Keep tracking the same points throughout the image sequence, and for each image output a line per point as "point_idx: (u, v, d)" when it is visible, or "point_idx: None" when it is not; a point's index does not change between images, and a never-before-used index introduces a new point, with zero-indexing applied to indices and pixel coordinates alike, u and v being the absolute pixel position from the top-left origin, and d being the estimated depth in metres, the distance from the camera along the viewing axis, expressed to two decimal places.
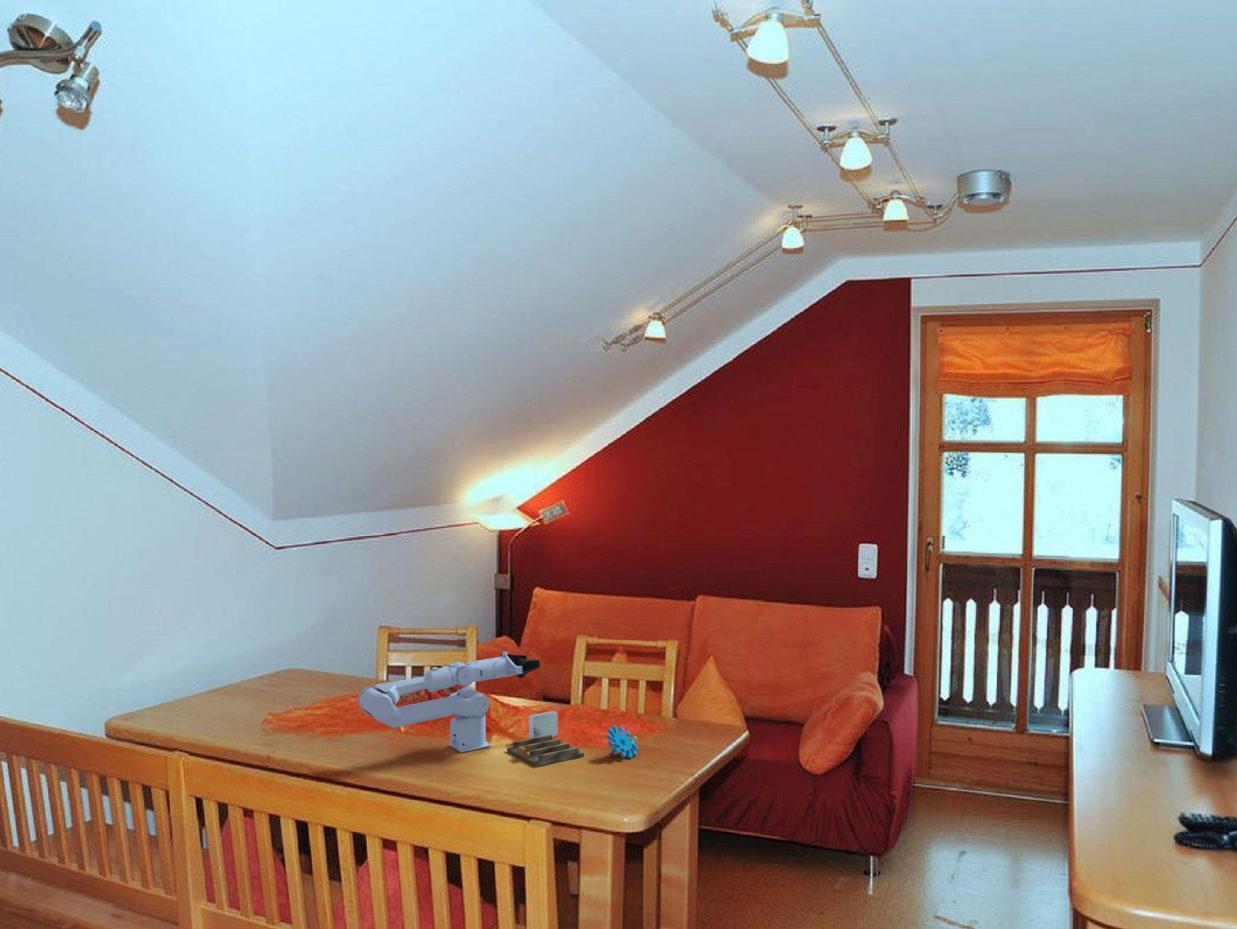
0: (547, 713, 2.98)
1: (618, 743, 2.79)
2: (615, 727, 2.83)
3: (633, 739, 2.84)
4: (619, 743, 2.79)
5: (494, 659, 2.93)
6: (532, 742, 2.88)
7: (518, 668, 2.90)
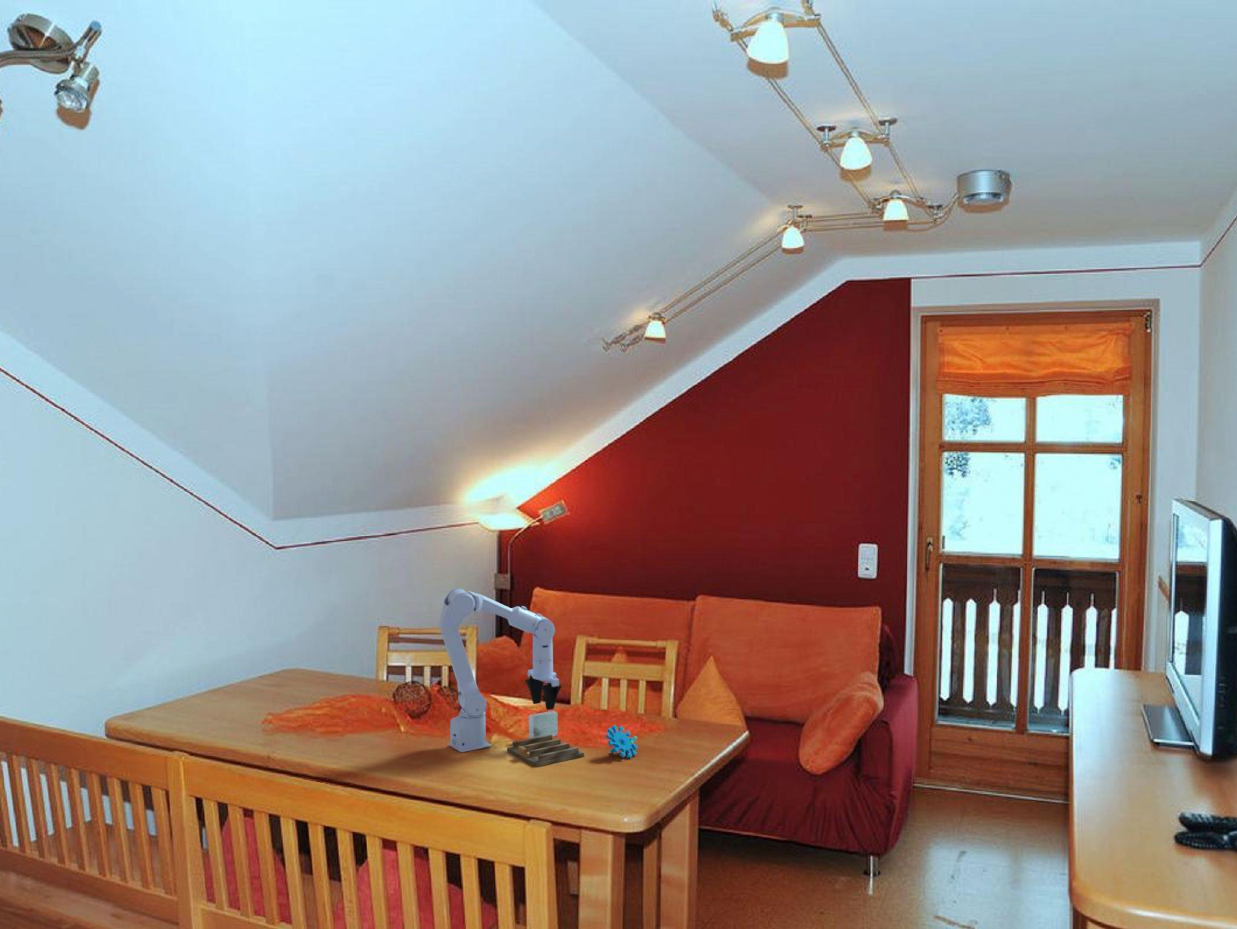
0: (547, 713, 2.98)
1: (617, 743, 2.79)
2: (615, 727, 2.83)
3: (633, 739, 2.84)
4: (618, 743, 2.80)
5: None
6: (532, 742, 2.88)
7: (558, 681, 2.91)
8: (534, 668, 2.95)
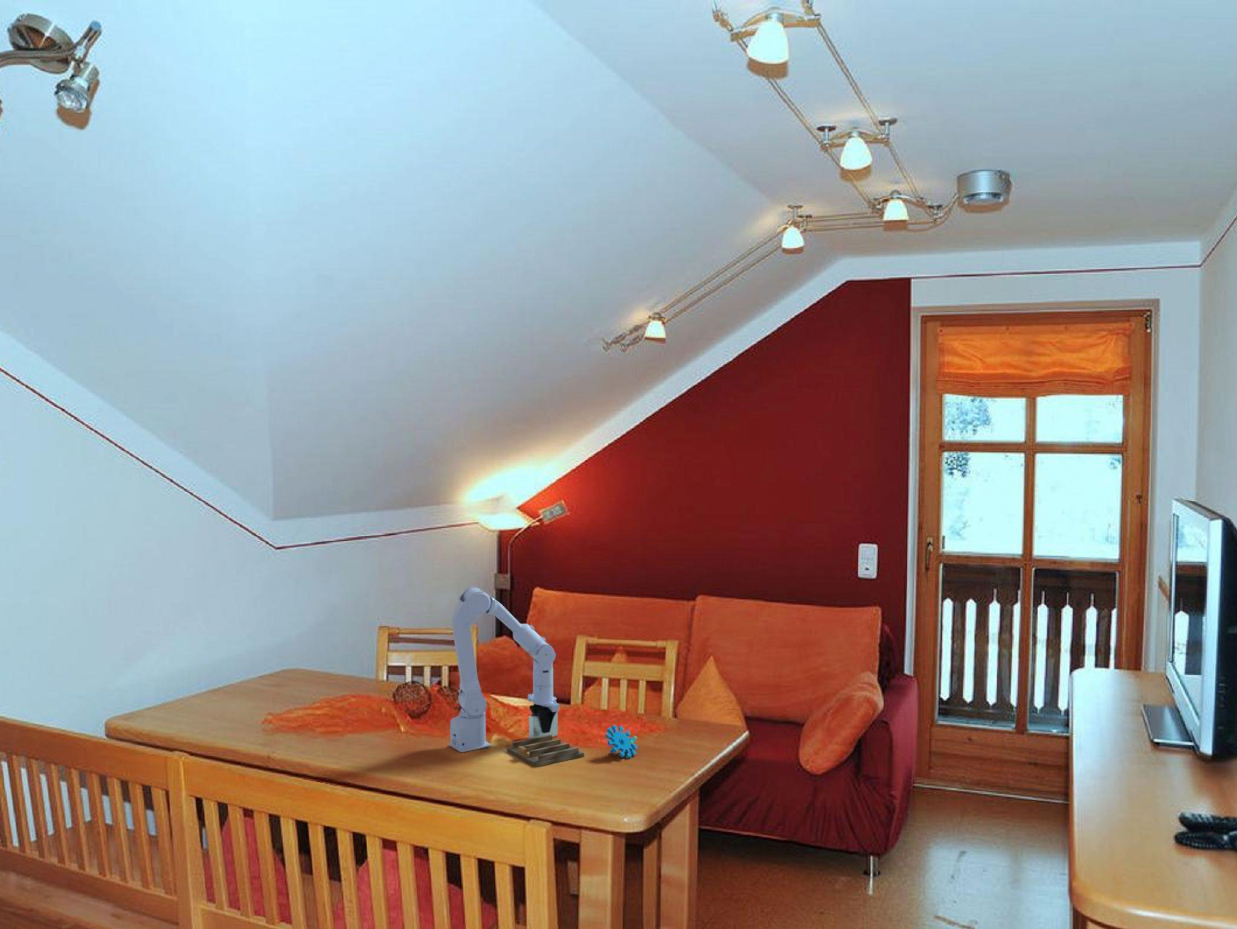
0: None
1: (617, 743, 2.80)
2: (615, 727, 2.84)
3: (633, 739, 2.84)
4: (618, 743, 2.80)
5: None
6: (532, 742, 2.88)
7: (558, 707, 2.92)
8: (534, 693, 2.96)
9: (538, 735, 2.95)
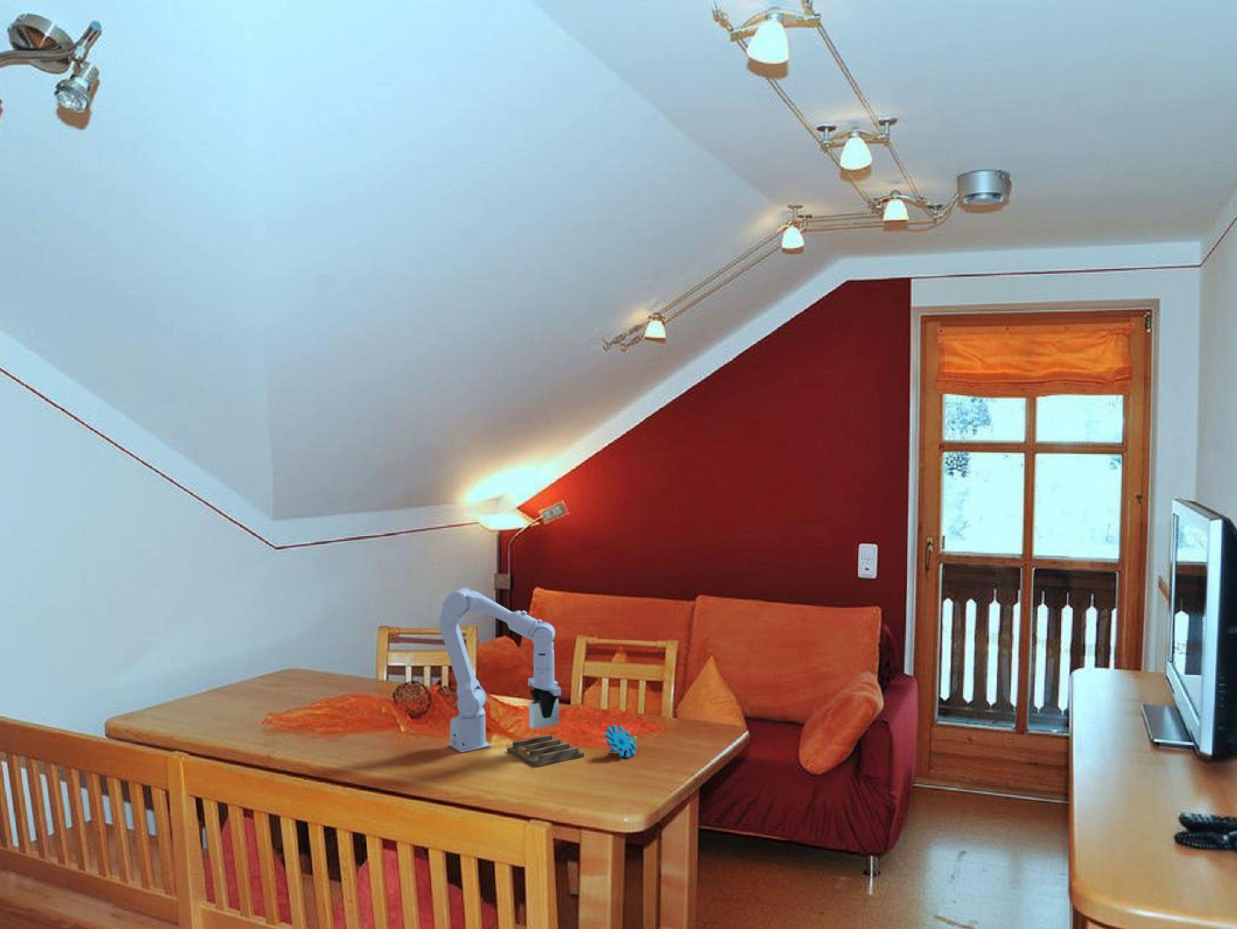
0: None
1: (616, 742, 2.80)
2: (614, 726, 2.84)
3: (632, 739, 2.84)
4: (617, 742, 2.80)
5: None
6: (532, 742, 2.88)
7: (560, 690, 2.82)
8: (535, 677, 2.86)
9: (539, 723, 2.86)
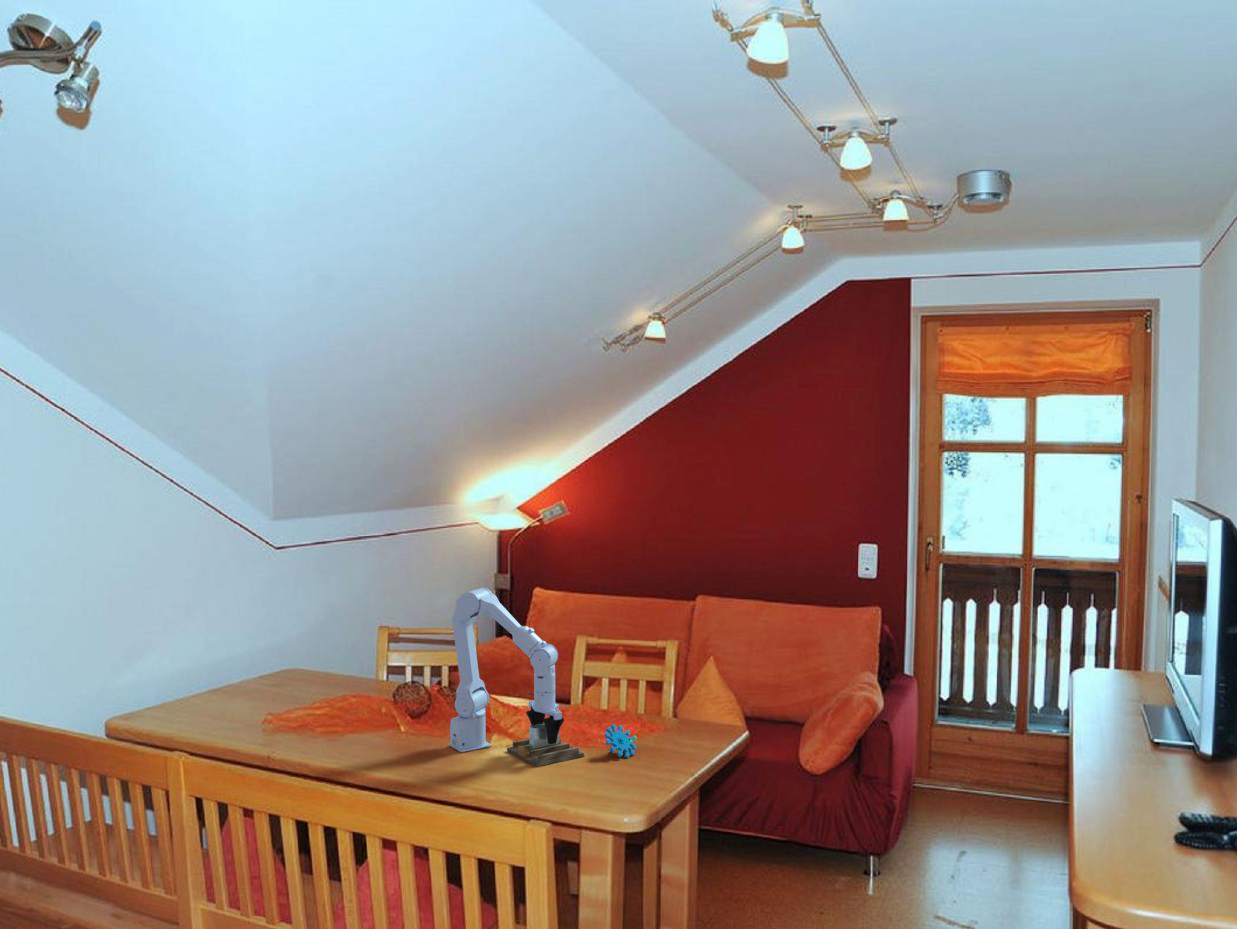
0: None
1: (615, 742, 2.80)
2: (614, 726, 2.84)
3: (632, 739, 2.85)
4: (616, 742, 2.80)
5: None
6: None
7: (560, 714, 2.77)
8: (535, 700, 2.81)
9: (539, 747, 2.80)
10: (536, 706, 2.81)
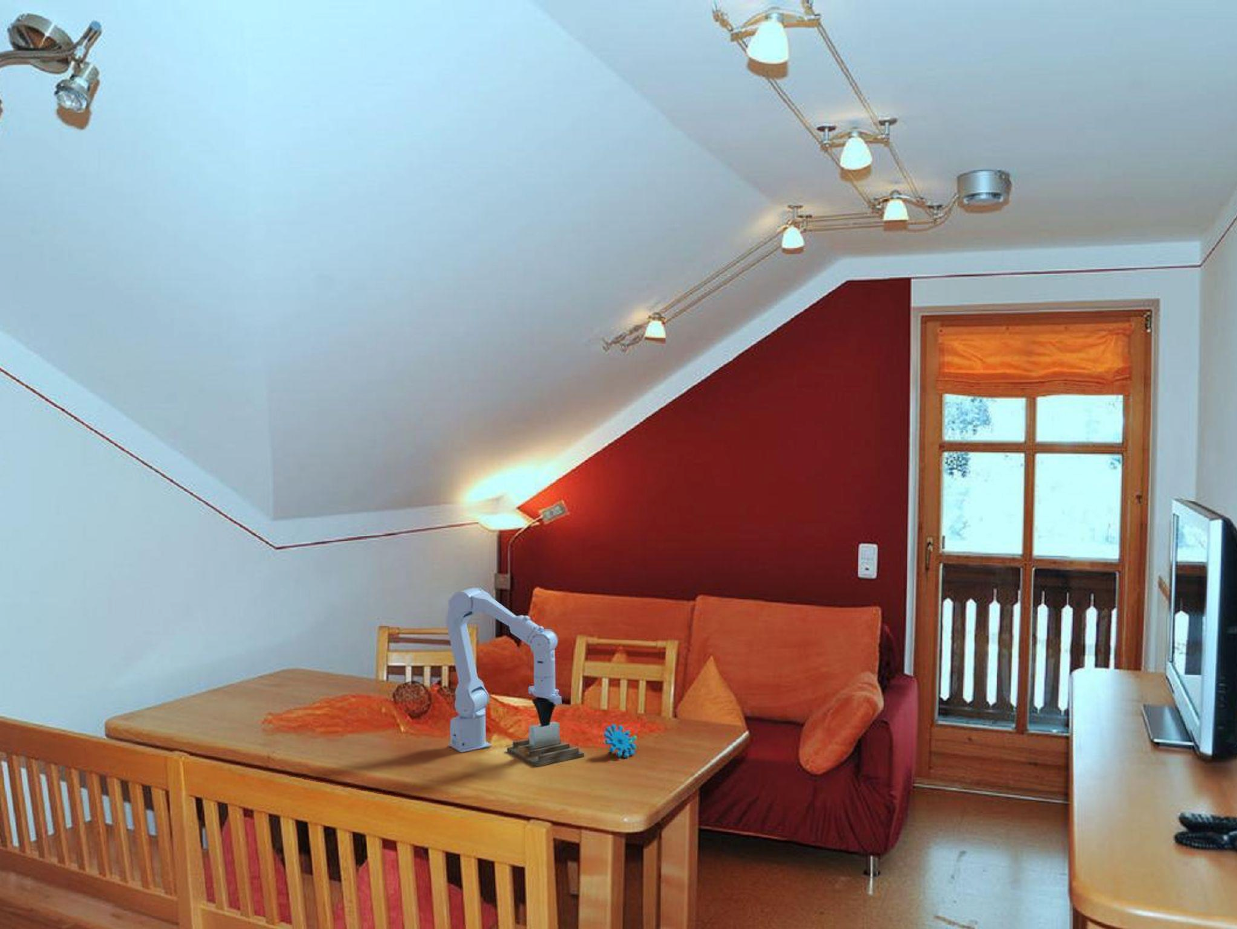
0: None
1: (615, 742, 2.80)
2: (614, 726, 2.84)
3: (632, 739, 2.85)
4: (616, 742, 2.80)
5: None
6: None
7: (560, 699, 2.77)
8: (535, 685, 2.81)
9: (539, 747, 2.80)
10: (536, 691, 2.80)
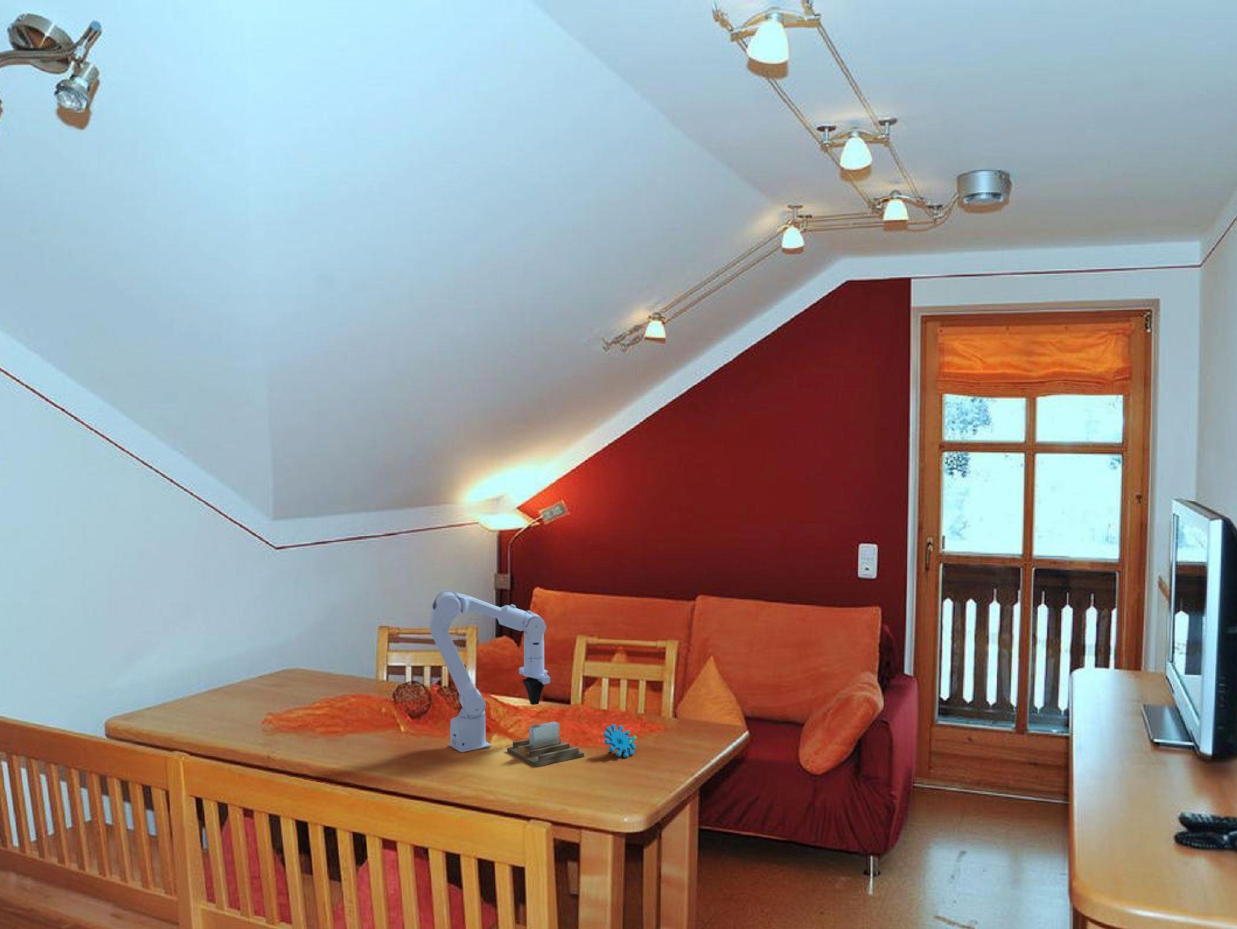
0: (548, 724, 2.83)
1: (614, 742, 2.80)
2: (614, 726, 2.85)
3: (632, 738, 2.85)
4: (615, 742, 2.81)
5: None
6: None
7: (549, 679, 2.89)
8: (525, 665, 2.93)
9: (539, 747, 2.80)
10: (526, 671, 2.93)
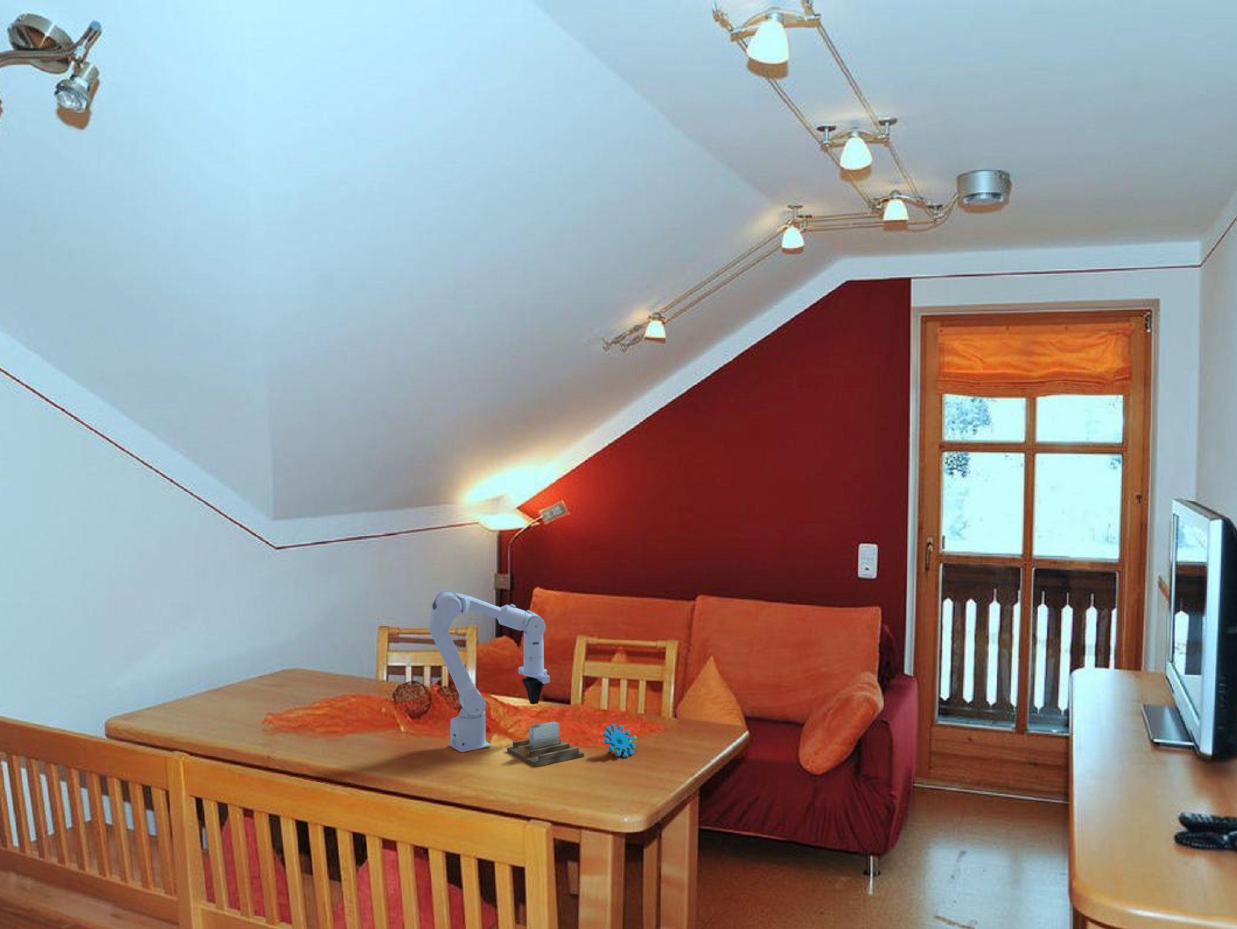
0: (548, 724, 2.83)
1: (614, 742, 2.80)
2: (614, 726, 2.85)
3: (632, 738, 2.85)
4: (615, 742, 2.81)
5: None
6: None
7: (548, 678, 2.90)
8: (525, 665, 2.94)
9: (539, 747, 2.80)
10: (525, 671, 2.93)
